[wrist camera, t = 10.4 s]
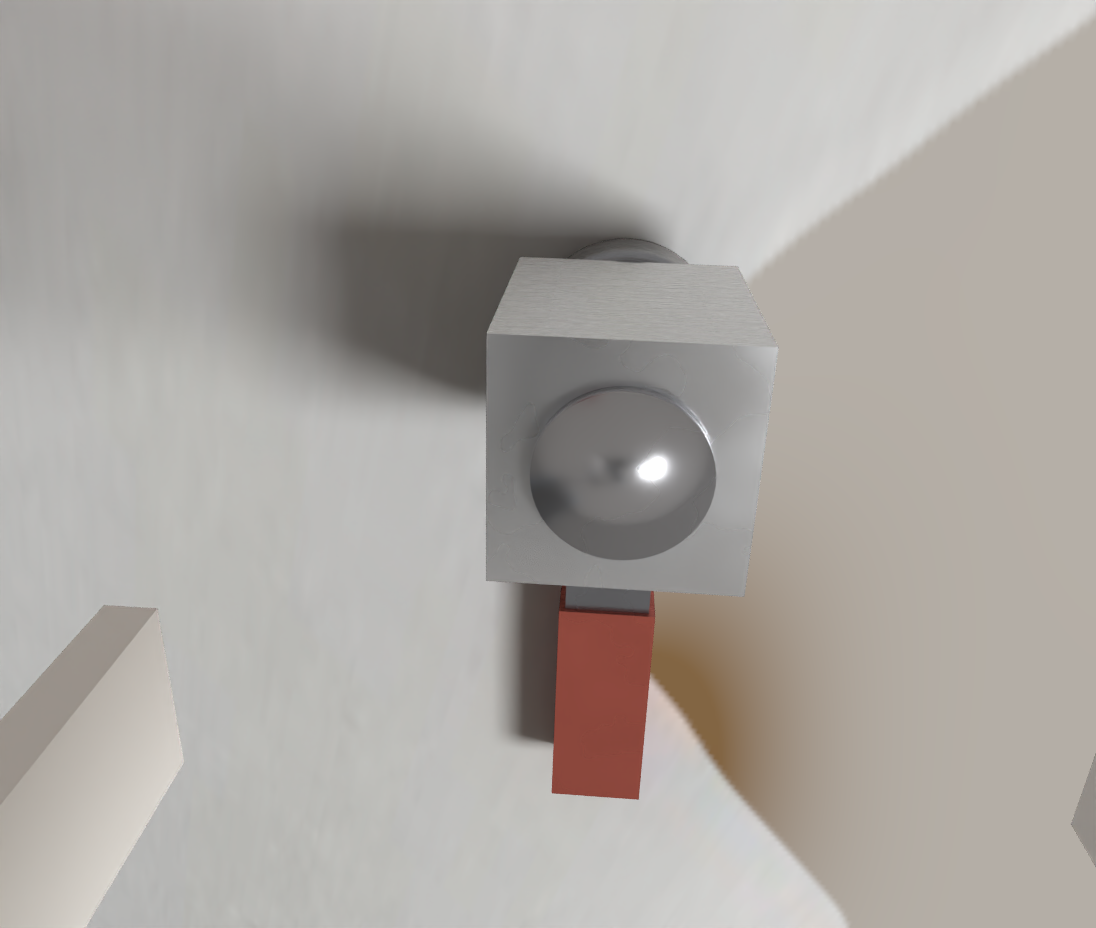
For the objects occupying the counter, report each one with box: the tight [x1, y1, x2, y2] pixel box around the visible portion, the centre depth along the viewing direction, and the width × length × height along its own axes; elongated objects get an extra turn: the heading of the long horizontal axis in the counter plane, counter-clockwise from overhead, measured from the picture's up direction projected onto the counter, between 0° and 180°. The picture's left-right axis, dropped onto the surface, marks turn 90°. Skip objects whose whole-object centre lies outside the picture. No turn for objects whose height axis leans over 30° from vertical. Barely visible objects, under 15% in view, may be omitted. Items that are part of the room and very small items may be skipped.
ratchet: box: [552, 239, 688, 800], centre depth 30 cm, size 6×20×6 cm, turn 179°
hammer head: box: [486, 257, 778, 597], centre depth 24 cm, size 6×6×8 cm
